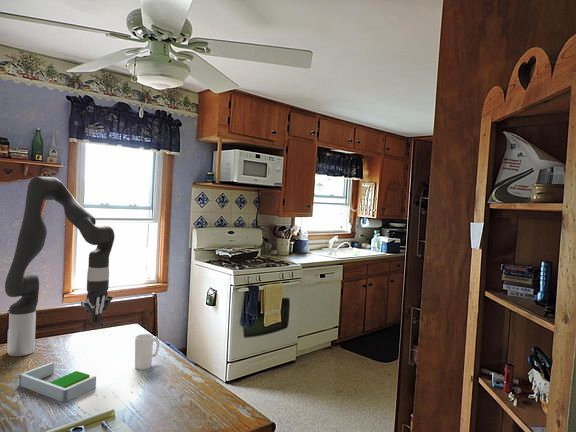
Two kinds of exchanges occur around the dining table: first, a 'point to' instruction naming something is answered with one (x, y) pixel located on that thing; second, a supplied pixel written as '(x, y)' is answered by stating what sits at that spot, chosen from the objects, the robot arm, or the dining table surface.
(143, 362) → the mug
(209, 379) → the dining table surface
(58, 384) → the dish sponge
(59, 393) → the frame
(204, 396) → the dining table surface
